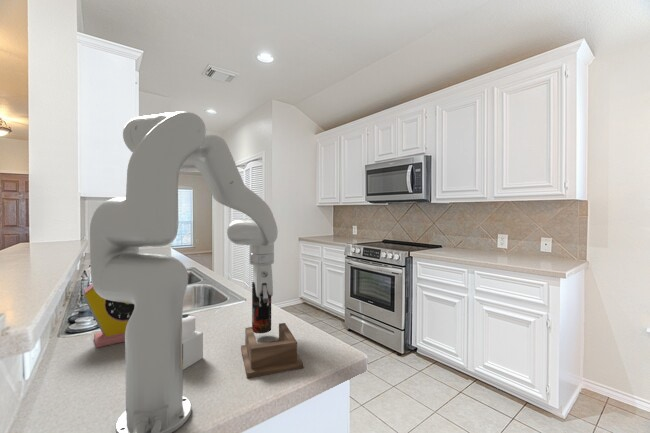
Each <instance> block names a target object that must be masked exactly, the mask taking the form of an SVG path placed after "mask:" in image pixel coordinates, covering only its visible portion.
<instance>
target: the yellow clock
mask: <svg viewBox="0 0 650 433" xmlns="http://www.w3.org/2000/svg"><path fill="white" fill-rule="evenodd" d="M82 297H83V299H84V301H85V304H86V305H87V307H88V308H89V310H90V313H91V314H92V316H93V318H94V320H95V322H96V324H97V326H98V328H99V329H100V331H97V332H95V333H94V334H93V339H94V342H95V347H96V348H98V349H99V348H104V347H109V346H111V345H116V344H120V343H125V331H126V326H127V323H128V321H129V319H130V317H131V315H132V313H133V311H134V307H135V305H134V304H130V303H123V302H116V301H110V300H107V299H104V298H102V297H100V296H99V295H98V294H97V293H96V291H95V290H94V287H93V284H92V283H91V284H90V285H88V286H87V287H86V288H85V289H84V290H83V294H82Z"/></svg>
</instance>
